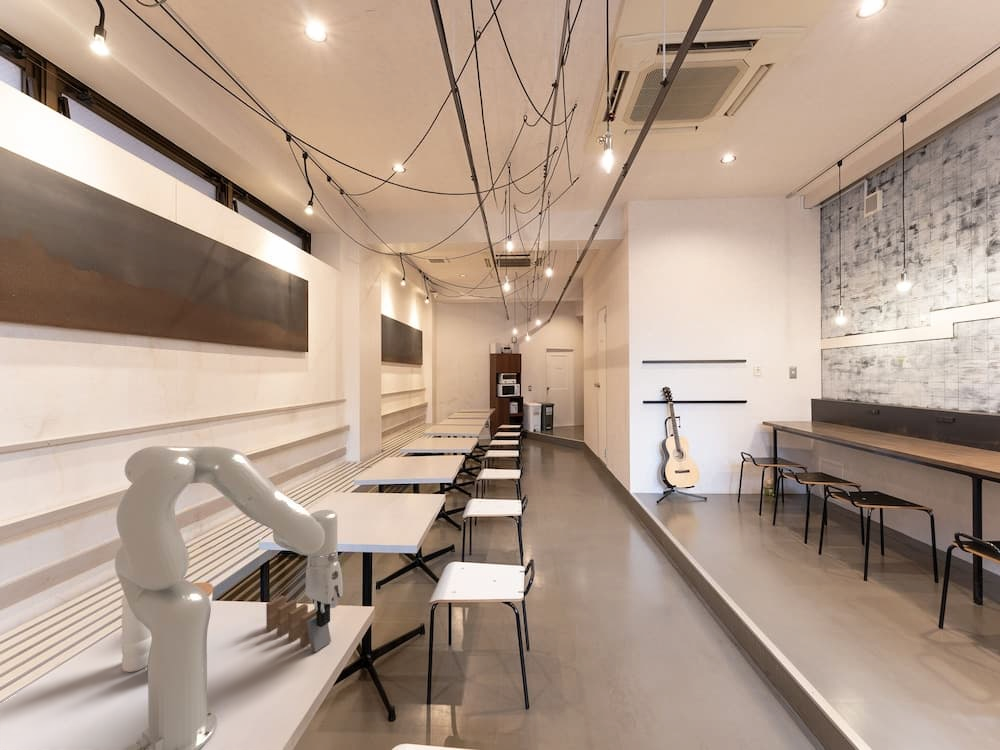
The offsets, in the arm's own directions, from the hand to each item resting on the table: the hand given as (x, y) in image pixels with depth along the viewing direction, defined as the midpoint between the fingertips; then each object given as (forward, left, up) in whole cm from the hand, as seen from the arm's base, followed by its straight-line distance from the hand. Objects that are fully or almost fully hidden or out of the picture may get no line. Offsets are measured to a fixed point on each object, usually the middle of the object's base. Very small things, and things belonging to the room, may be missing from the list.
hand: (323, 623), depth 112 cm
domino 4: (0, +5, -7) cm, 9 cm away
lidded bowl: (-11, +46, -7) cm, 48 cm away
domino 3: (0, +10, -7) cm, 12 cm away
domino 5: (0, +1, -6) cm, 6 cm away
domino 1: (0, +20, -7) cm, 22 cm away
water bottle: (-26, +37, -7) cm, 46 cm away
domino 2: (0, +15, -7) cm, 17 cm away
